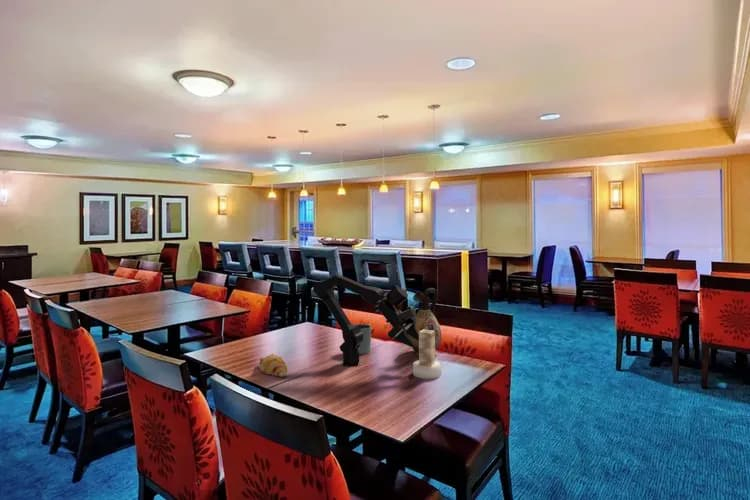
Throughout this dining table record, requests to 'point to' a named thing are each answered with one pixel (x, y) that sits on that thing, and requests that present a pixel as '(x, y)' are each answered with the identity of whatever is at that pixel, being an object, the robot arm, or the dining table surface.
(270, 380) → the dining table surface
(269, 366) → the croissant
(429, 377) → the cream plinth
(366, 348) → the grey cup
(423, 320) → the ceramic jug
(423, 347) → the maple block
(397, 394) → the dining table surface
